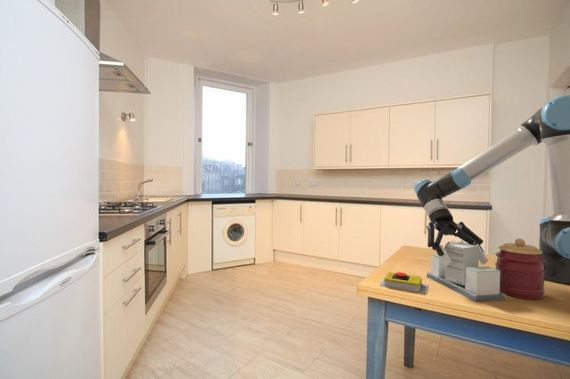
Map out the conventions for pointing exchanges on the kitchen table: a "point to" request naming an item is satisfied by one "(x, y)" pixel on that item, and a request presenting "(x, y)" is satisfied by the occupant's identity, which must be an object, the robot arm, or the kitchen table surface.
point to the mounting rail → (463, 291)
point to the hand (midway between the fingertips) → (467, 263)
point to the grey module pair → (472, 277)
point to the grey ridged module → (460, 261)
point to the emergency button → (404, 282)
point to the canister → (521, 270)
